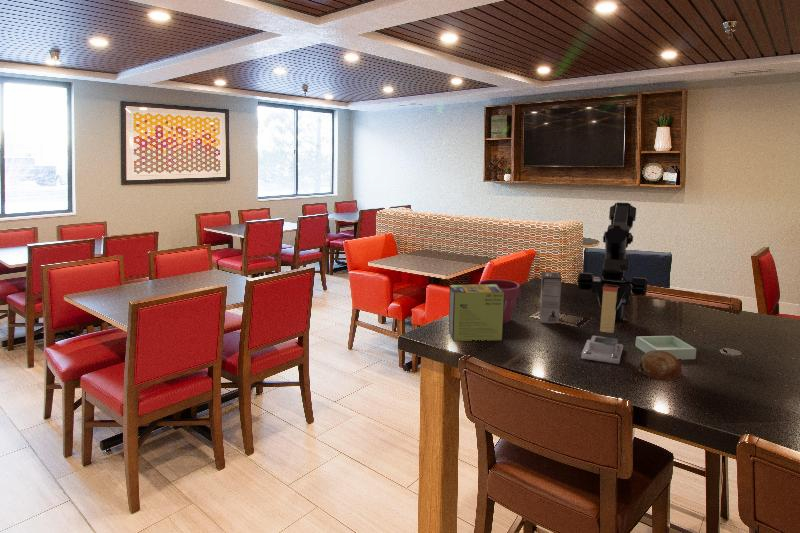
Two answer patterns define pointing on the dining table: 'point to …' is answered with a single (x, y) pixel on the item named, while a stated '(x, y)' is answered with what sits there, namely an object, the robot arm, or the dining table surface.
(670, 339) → the tray
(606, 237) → the robot arm
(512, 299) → the plant pot
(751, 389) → the dining table surface
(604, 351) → the bracket
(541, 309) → the coffee box
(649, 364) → the bread roll
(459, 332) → the protein box
